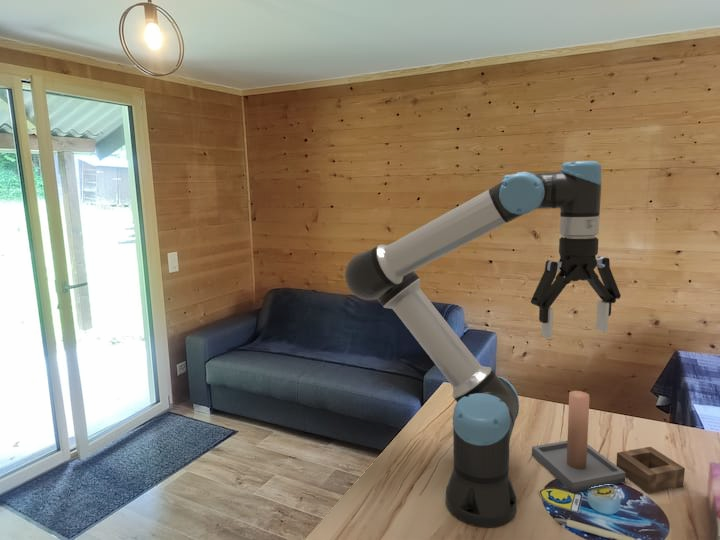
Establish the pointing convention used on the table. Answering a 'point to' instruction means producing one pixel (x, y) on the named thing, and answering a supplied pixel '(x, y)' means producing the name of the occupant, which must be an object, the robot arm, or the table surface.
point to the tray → (577, 479)
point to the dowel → (577, 429)
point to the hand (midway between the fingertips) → (574, 333)
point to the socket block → (650, 469)
